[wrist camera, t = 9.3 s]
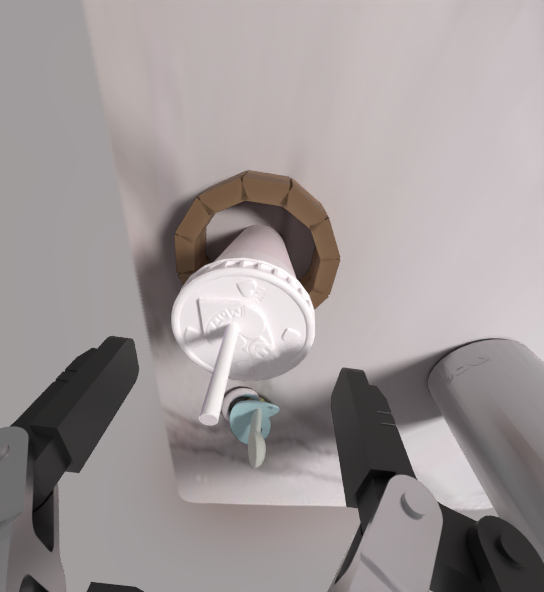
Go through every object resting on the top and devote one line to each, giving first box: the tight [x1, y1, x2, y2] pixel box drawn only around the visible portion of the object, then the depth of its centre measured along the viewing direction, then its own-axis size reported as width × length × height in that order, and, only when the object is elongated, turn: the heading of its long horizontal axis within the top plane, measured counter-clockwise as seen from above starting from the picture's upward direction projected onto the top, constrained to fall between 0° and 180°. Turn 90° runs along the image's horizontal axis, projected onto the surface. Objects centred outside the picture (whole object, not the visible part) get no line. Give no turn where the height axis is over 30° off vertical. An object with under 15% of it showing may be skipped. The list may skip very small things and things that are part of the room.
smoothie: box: [171, 225, 315, 425], centre depth 14 cm, size 6×6×14 cm
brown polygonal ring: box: [175, 170, 340, 310], centre depth 18 cm, size 10×10×3 cm
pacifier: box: [221, 388, 279, 468], centre depth 27 cm, size 7×6×6 cm
